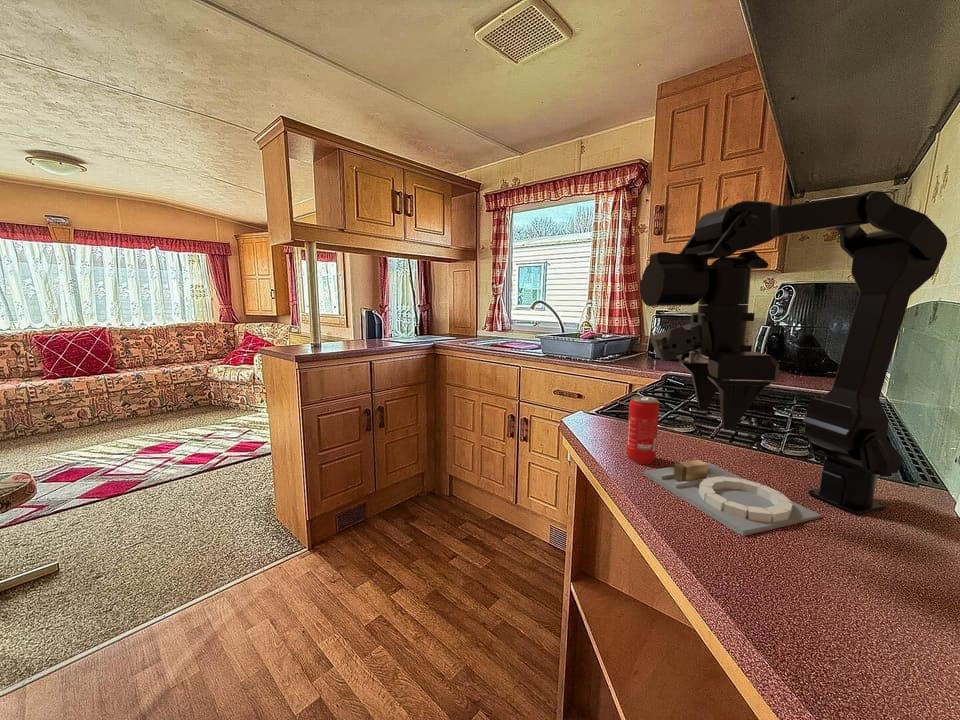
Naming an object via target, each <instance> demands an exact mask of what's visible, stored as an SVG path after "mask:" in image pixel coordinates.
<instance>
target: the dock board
mask: <svg viewBox="0 0 960 720" xmlns="http://www.w3.org/2000/svg"><path fill="white" fill-rule="evenodd" d="M705 463H707V464H708V466H707V477H706V478H703V479H696V480H689V481H683V482H681V481H679V480H677V479H676V478H674V466H670V467H669V466H668V467H663V468H654V469H646V470H643V476H644V477H646V478H648V479H649V480H651V481H652V482H654V483H656V484H658V485H659V486H661V487H662V488H664V489H665V490H667V491H669V492H671V493H672V494H673V495H675V496H677V497H678V498H680V499H682V500H683V501H685V502H687V503H688V504H690V505H691V506H693V507H695V508H696V509H698V510H699V511H701V512H703V513H705V514H706V515H708V516H709V517H711V519H712V518H713V519H714V520H715V521H717V522H719V523H720V524H722V525H724V526H725V527H727V528H729V529H730V530H731V531H734V532H735V533H736V534H738V535H740V536H742V537H745V536H748V535H753V534H754V535H755V534H756V533H757V534H758V533H761V532H766V531H770V530H774V529H779V528H782V527H786V526H792V525H795V524H800V523H803V522H804V523H805V522H808V521H812V520H816V519H820V518H822V514H821V513H820V514H819V513H818V512H816V511H814V510H811V509H809V508H807V507H805V506H803V505H801V504H799V503H797V502H794V501H792V500H790V499H789V498H788V497H787V496H786V495H785V494H783V493H781V491H778V490H776V489H774V488H771V487H769V486H767V485H765V484H762V483H758V482H755V481H753V480H752V481H751V480H748V479H745V478H743V477H740V476H738V475H737V474H734V473H732V472H730V471H728V470H726V469H723V468H721V467H720V466H717V465H716V464H713V463H711V462H707V461H706V462H705Z"/></svg>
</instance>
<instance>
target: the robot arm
mask: <svg viewBox="0 0 960 720" xmlns="http://www.w3.org/2000/svg"><path fill="white" fill-rule="evenodd" d="M867 224H870V225H871V226H872V227H874V228H876V229H878V230H876V231H873V232H869V233H867V232H866V231H865V230H864V229H863V228H862V227H861V225H862V226H863V225H867ZM829 229H835V230H836V231H837V232H838V233H839V245H840V248H841V249H842V250H843V251H844V252H845V253H846V254H847V255H848V256H849V257H851V259H852V263H851V271H850V272H851V276H852V279H853V281H854V283H855V284H856V286H857V288H858V290H859V291H858V292H859V294H858V297H857V301H856V305H855V308H854V311H853V315H852V319H851V322H850V326H849V329H848V333H847V336H846V338H845V339H846V340H845V342H844V346H843V350H842V353H841V356H840V361H839V364H838V367H837V371H836V375H835V378H834V381H833V385H832V388H831V390H829V391H828V392H827V393H826V394H824V395H823V396H822V397H821V398H819V397H814V396H813V397H811V398H810V399H809V401H808V403H807V405H808V406H807V412H806V414H805V416H804V418H803V419H802V423H803V424H805V425H804V435H805V436H807V440H808V444H809V449H810V452H811V453H814V454H818V455H821V456H822V457H824V459H823V465H822V471H821V476H820V482H819V488H813V489H808V491H807V493H808V495H810V496H812V497H815V498H817V499H820V500H822V501H824V502H826V503H829V504H831V505H834V506H836V507H838V508H841V509H843V510H845V511H846V512H850V513H852V514H855V515H860V514H865V513H871V512H875V511H879V510H884V509H886V508H887V504H886V503H883V502H880V501H878V500H875V499H874V498H875V492H876V487H877V479H878V476H885V477H890V476H891V474H897V473H898V472H899V470H900V468H901V466H902V464H903V462H904V458H903V457H902V456H901V454H900V453H899V452H898V450H897V449H896V448H895V447H894V445H892V443H891V442H890V441H889V439H888V438H887V436H888V428H889V424H890V423H889V422H890V421H889V418H888V415H887V413H886V411H885V408H884V407H883V404H882V402H881V400H880V398H881V393H882V389H883V386H884V383H885V379H886V377H887V374H888V371H889V368H890V367H889V366H890V363H891V360H892V357H893V354H894V351H895V347H896V345H897V344H896V343H897V339H898V337H899V333H900V330H901V327H902V324H903V320H904V317H905V314H906V310H907V307H908V304H909V301H910V298H911V296H912V294H913V293H914V292H916V291H917V290H918V289H920V288H921V287H922V286H923V285H924V284H925V283H927V282H928V281H929V280H930V279H931V278H932V277H933V276H934V275H935V273H936V271H937V270H938V267H939V265H940V263H941V260H942V259H943V256H944V254H945V252H946V250H947V246H948V239H947V238H948V237H947V235H945V233H944V232H943V231H942V230H941V228H939V227H938V226H937V225H936V224H935V222H934V221H932V219H931V218H930V217H929V216H928V215H927V214H925V213H923V212H920V211H918V210H915V209H913V208H910V207H907V206H905V205H902V204H899V203H896V202H895V201H894V200H893V199H892V198H891V197H890V196H889V195H888V194H887V193H886V192H884V191H881V190H880V191H879V190H869V191H865V192H861V193H858V194H852V195H846V196H841V197H833V198H826V199H820V200H813V201H807V202H799V203H794V204H792V203H791V204H784V205H783V204H782V205H781V204H776V203H774V202H771V201H757V200H756V201H755V200H754V201H753V200H741V201H740V202H736V203H733V204H731V205H728V206H724V207H721V208H718V209H716V210H712V211H709V212H707V213H705V214H702V215H701V216H700V219H699V220H698V221H697V223H696V226H695V229H694V233H693V235H691V237H690V238H689V239H688V241H687V242H686V244H685V245H684V247H682V250H681V251H680V252H679V253H672V252H667V251H661V252H660V251H659V252H654V253H651V254H650V255H649V263H648V264H647V266H646V267H645V269H644V271H643V274H642V277H641V279H640V281H639V293H640V297H641V301H642V303H643V304H644V305H645V306H647V307H679V306H681V307H683V306H687V307H688V306H694V305H695V304H698V305H697V312H692V314H691V315H690V318H689V319H690V320H689V323H688V324H684V325H676V327H674V328H668V329H666V330H665V331H663V332H659V333H657V334H654V335H651V336H650V341H651V344H652V346H653V350H654V353H655V356H656V358H657V359H660V361H664V362H665V361H666V362H667V361H670V360H673V359H675V358H676V359H679V360H678V362H679V364H680V365H681V366H683V367H684V368H685V369H686V370H687V371H688V372H689V373H690V376H691V380H692V383H693V388H694V393H695V397H696V401H697V407H698V409H699V410H700V411H708V409H709V408H710V406H711V404H712V402H713V400H714V397H715V394H716V392H717V390H718V395H719V397H718V398H719V407H720V418H721V424H722V428H723V430H726V431H727V430H728V431H729V430H730V431H733V430H735V427H736V426H737V425H738V423H739V422H740V420H741V419H742V418H743V416H744V415H745V413H746V412H747V410H748V409H749V408H750V406H751V405H752V404H753V402H754V401H755V400H756V399H757V397H758V396H759V395H760V394H761V392H762V391H763V390H764V389H765V388H766V387H768V386H769V387H770V385H771V384H772V381H778V380H779V373H780V372H779V371H780V370H779V369H780V363H779V361H777V359H775V358H774V357H773V356H772V355H770V354H766V353H763V352H759V351H752V347H753V345H751V344H747V328H748V322H754V321H755V312H749V305H750V304H749V302H750V291H751V277H752V276H751V275H752V271H753V270H762V269H767V268H768V267H769V263H768V261H766V260H765V259H764V258H762V257H760V255H758V253H757V251H756V250H749V251H745V250H748V249H752V248H754V247H757V246H759V245H762V244H766V243H768V242H772V241H773V240H775V239H777V238H779V237H783V236H789V235H796V234H802V233H807V232H813V231H820V230H821V231H822V230H829ZM743 250H744V252H741V253H740V254H739V255H738V256H732V255H734V254H735V253H736V252H738V251H743ZM708 260H714V261H713V262H712V263H711V264H708V262H709V261H708Z"/></svg>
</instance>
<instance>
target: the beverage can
mask: <svg viewBox="0 0 960 720" xmlns="http://www.w3.org/2000/svg"><path fill="white" fill-rule="evenodd" d="M659 411H660V404H659V399H658V398H656V397H652V396H651V397H650V396H644V395H642V396H641V395H635V396H632V397H631V398H630V401H629V406H628V418H627V419H628V420H627V434H626V435H627V438H626V439H627V440H626V450H625V451H626V455H627V458H628V460H629V461H630V462H632V463H634V464H640V465H649V464H653V463H654V460H655V458H656V454H657V452H656V451H657V439H658V426H659V415H660V414H659V413H660V412H659Z"/></svg>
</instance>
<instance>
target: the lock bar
mask: <svg viewBox="0 0 960 720" xmlns="http://www.w3.org/2000/svg"><path fill="white" fill-rule="evenodd" d="M707 466H708V464H707V463H706V462H704V461H703V460H700V459H695V460H689V461H688V460H687V461H680V462H674V465H673V467H674V478H676V479H677V480H679V481H681V482H683V481H689V480H696V479H703V478H706V477H707Z"/></svg>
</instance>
